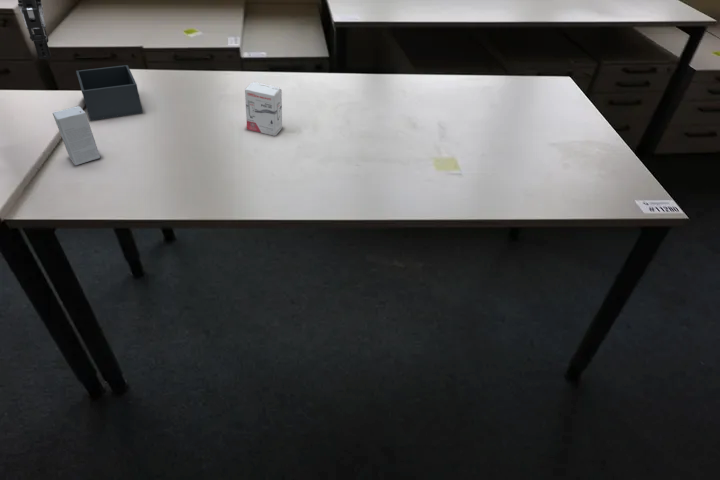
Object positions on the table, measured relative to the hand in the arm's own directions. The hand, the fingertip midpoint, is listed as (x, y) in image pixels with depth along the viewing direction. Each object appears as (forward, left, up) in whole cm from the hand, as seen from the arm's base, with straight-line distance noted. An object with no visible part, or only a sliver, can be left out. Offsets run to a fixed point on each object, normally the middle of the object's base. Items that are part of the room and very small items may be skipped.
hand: (44, 50), depth 106 cm
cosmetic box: (+1, -1, -26) cm, 26 cm away
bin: (+11, +24, -26) cm, 37 cm away
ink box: (+46, -2, -26) cm, 53 cm away
